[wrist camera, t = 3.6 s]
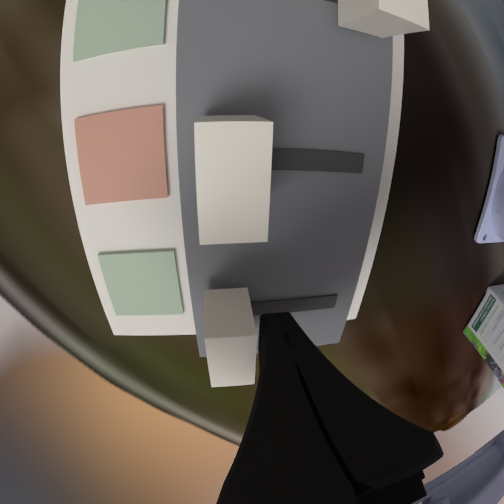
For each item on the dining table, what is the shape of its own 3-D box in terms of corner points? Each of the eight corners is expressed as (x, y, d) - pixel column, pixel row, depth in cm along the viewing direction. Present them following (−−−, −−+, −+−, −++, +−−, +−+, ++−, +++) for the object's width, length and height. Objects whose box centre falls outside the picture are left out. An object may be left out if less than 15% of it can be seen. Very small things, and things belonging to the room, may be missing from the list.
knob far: (247, 287, 10) (257, 335, 8) (246, 338, 12) (254, 383, 10) (203, 289, 10) (204, 338, 8) (209, 340, 12) (211, 387, 10)
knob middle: (255, 115, 7) (273, 121, 5) (253, 205, 9) (267, 241, 7) (199, 116, 7) (194, 122, 5) (201, 207, 9) (199, 245, 7)
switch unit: (388, -20, 7) (427, -35, 4) (349, 307, 17) (369, 343, 14) (82, -30, 5) (53, -52, 3) (117, 322, 15) (106, 363, 12)
